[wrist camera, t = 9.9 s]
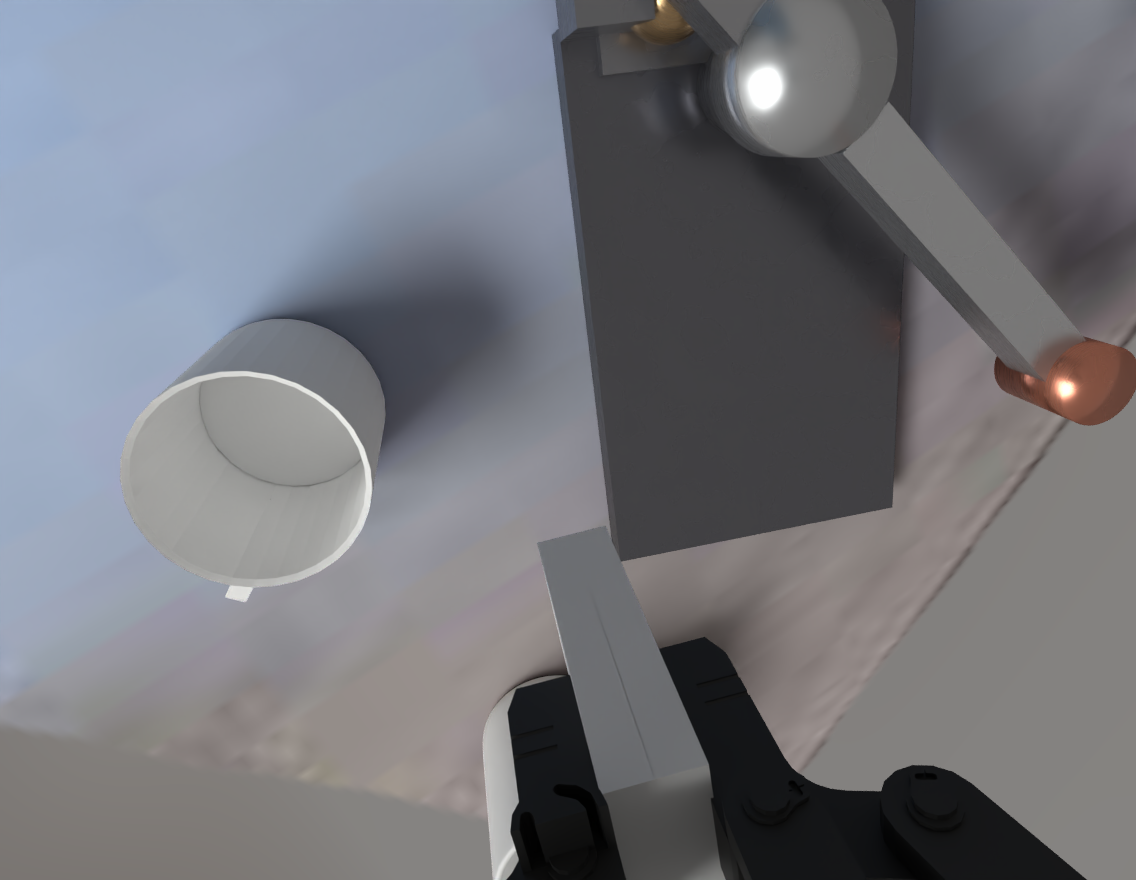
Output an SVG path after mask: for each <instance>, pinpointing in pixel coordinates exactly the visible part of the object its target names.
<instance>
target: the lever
mask: <svg viewBox="0 0 1136 880" xmlns="http://www.w3.org/2000/svg"><path fill="white" fill-rule="evenodd" d="M667 1H668V2H669V3H670V4H671V5H672V7H673V8H674V9H675V10H676V11H677V12H678V13H679V14H680V15H681V16H682V18H683V19H684V20H685V21H686V22H687V23H688V24H689V25H690V26H691V27H692V28H693V30H694V31H695V32H696V33H697V34H698V35H699V36H700V37H701V38H702V39H703V41H704V42H705V43H706V44H707V45H708V46H709V47H710V48H711V49H712V50H713V51H714V55H713V59H712V65H711V72H710V88H711V96H712V102H713V105H714V109H715V112H716V114H717V116H718V119H719V121H720V123H721V124H722V126H723V128H724V129H725V131H726V132H727V133H728V134H729V136H730V137H731V138H732V139H733V140H734V141H736V142H737V143H738V144H739V145H741V146H742V147H743V148H745V149H747V150H749V151H751V152H753V153H756V154H759V155H763V156H770V157H797V158H816V157H817V158H818V159H819V160H820V161H821V162H822V163H823V164H824V165H825V167H826V168H827V169H828V170H829V171H830V172H831V173H832V174H833V175H834V177H835V178H836V179H837V180H838V181H839V182H840V183H841V184H842V185H843V186H844V188H845V189H846V190H847V191H848V192H849V193H850V194H851V195H852V196H853V197H854V199H855V200H856V201H857V202H858V203H859V204H860V205H861V206H862V207H863V208H864V210H865V211H866V212H867V213H868V214H869V215H870V216H871V217H872V218H873V219H874V221H875V222H876V223H877V224H878V225H879V226H880V227H881V228H882V229H883V231H884V232H885V233H886V234H887V235H888V236H889V237H890V238H891V239H892V240H893V242H894V243H895V244H896V245H897V246H898V247H899V248H900V249H901V250H902V251H903V253H904V254H905V255H906V256H907V257H908V258H909V259H910V260H911V261H912V262H913V264H914V265H915V266H916V267H917V268H918V269H919V270H920V271H921V272H922V274H923V275H924V276H925V277H926V278H927V279H928V280H929V281H930V282H931V283H932V285H933V286H934V287H935V288H936V289H937V290H938V291H939V292H940V293H941V294H942V296H943V297H944V298H945V299H946V300H947V301H948V302H949V303H950V304H951V305H952V307H953V308H954V309H955V310H956V311H957V312H958V313H959V314H960V315H961V316H962V318H963V319H964V320H965V321H966V322H967V323H968V324H969V325H970V326H971V328H972V329H973V330H974V331H975V332H976V333H977V334H978V335H979V336H980V337H981V339H982V340H983V341H984V342H985V343H986V344H987V345H988V346H989V347H990V348H991V350H992V351H993V352H994V353H995V354H996V355H997V357H996V360H995V366H994V374H995V379H996V381H997V383H998V385H999V386H1000V388H1001V389H1002V390H1003V391H1005V392H1007V393H1009V394H1011V395H1013V396H1016V397H1018V398H1020V399H1023V400H1025V401H1027V402H1030V403H1032V404H1034V405H1037V406H1039V407H1041V408H1044V409H1046V410H1048V411H1051V412H1053V413H1055V414H1057V415H1060V416H1062V417H1064V418H1067V419H1069V420H1071V421H1074V422H1076V423H1078V424H1082V425H1097V424H1100V423H1103V422H1105V421H1108V420H1109V419H1111V418H1113V417H1114V416H1115V415H1117V414H1118V413H1119V412H1120V411H1121V410H1122V409H1123V408H1124V407H1125V406H1126V405H1127V403H1128V402H1129V401H1130V399H1131V398H1132V396H1133V394H1134V392H1135V390H1136V359H1135V357H1134V356H1133V354H1132V353H1131V352H1129V351H1128V350H1126V349H1124V348H1121V347H1118V346H1114V345H1111V344H1108V343H1104V342H1101V341H1097V340H1094V339H1091V338H1087V337H1084V336H1082V335H1081V333H1080V332H1079V331H1078V330H1077V329H1076V327H1075V326H1074V325H1073V324H1072V323H1071V321H1070V320H1069V319H1068V318H1067V316H1066V315H1065V314H1064V313H1063V312H1062V310H1061V309H1060V308H1059V307H1058V306H1057V304H1056V303H1055V302H1054V301H1053V300H1052V298H1051V297H1050V296H1049V295H1048V293H1047V292H1046V291H1045V290H1044V289H1043V287H1042V286H1041V285H1040V284H1039V283H1038V281H1037V280H1036V279H1035V278H1034V277H1033V275H1032V274H1031V273H1030V272H1029V271H1028V269H1027V268H1026V267H1025V266H1024V264H1023V263H1022V262H1021V261H1020V260H1019V258H1018V257H1017V256H1016V255H1015V254H1014V252H1013V251H1012V250H1011V249H1010V248H1009V246H1008V245H1007V244H1006V243H1005V242H1004V240H1003V239H1002V238H1001V237H1000V235H999V234H998V233H997V232H996V231H995V229H994V228H993V227H992V226H991V225H990V223H989V222H988V221H987V220H986V219H985V217H984V216H983V215H982V214H981V213H980V211H979V210H978V209H977V208H976V206H975V205H974V204H973V203H972V202H971V200H970V199H969V198H968V197H967V196H966V194H965V193H964V192H963V191H962V190H961V188H960V187H959V186H958V185H957V184H956V182H955V181H954V180H953V179H952V177H951V176H950V175H949V174H948V173H947V171H946V170H945V169H944V168H943V167H942V165H941V164H940V163H939V162H938V161H937V159H936V158H935V157H934V156H933V155H932V153H931V152H930V151H929V150H928V148H927V147H926V146H925V145H924V144H923V142H922V141H921V140H920V139H919V138H918V136H917V135H916V134H915V133H914V132H913V130H912V129H911V128H910V127H909V126H908V124H907V123H906V122H905V121H904V119H903V118H902V117H901V116H900V115H899V113H898V112H897V111H896V110H895V109H894V107H893V106H892V105H891V104H890V103H889V101H888V102H887V100H888V98H889V95H890V92H891V89H892V86H893V82H894V78H895V74H896V66H897V40H896V34H895V30H894V26H893V23H892V20H891V17H890V14H889V12H888V10H887V8H886V6H885V5H884V3H883V2H882V0H667Z"/></svg>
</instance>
